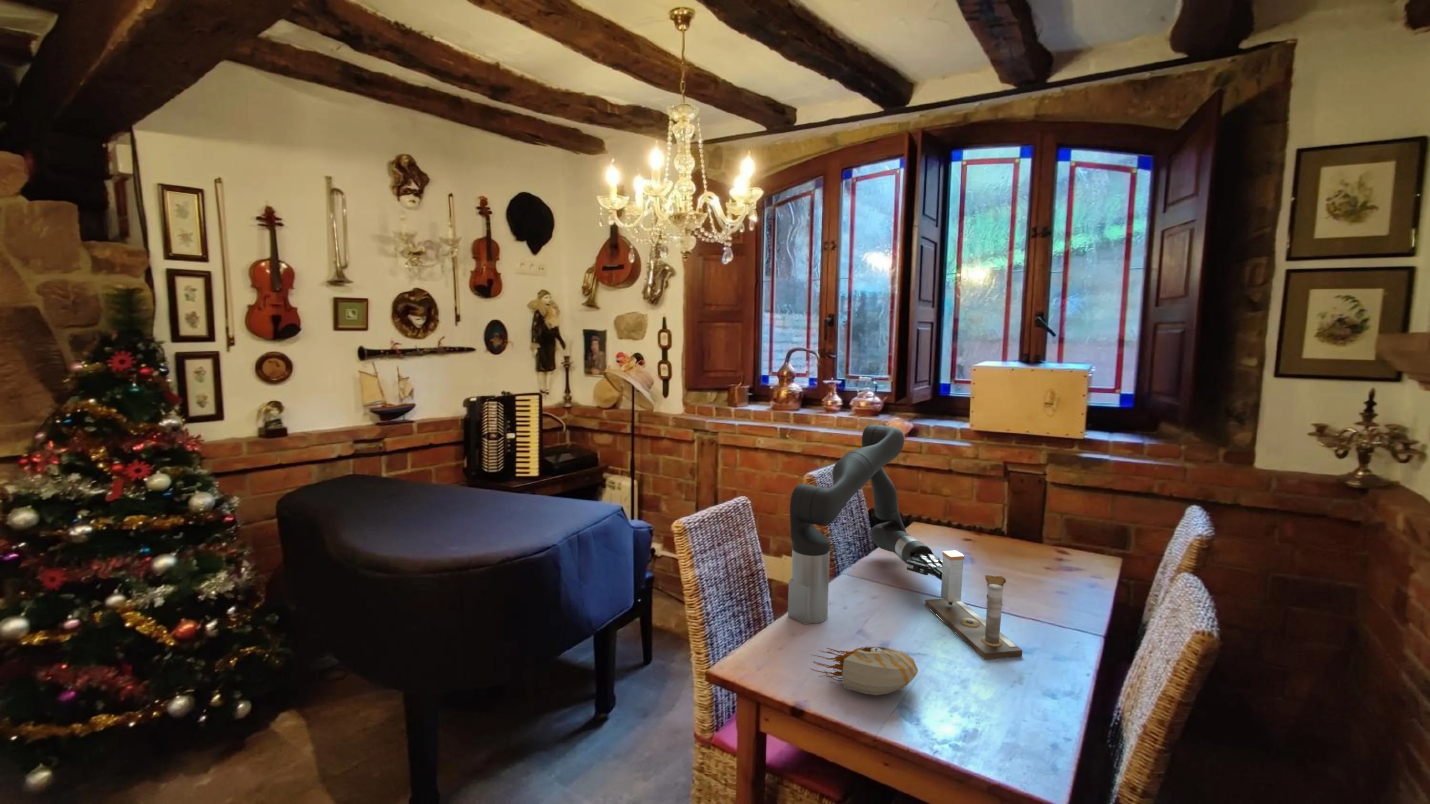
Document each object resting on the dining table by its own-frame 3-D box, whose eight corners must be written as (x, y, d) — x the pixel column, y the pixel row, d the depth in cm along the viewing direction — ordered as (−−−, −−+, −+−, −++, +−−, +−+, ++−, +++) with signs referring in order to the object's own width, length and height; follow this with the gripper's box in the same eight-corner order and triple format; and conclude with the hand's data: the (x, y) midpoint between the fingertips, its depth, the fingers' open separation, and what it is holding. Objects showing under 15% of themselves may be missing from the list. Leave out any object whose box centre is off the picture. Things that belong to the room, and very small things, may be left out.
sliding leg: (961, 606, 161) (964, 555, 159) (947, 607, 160) (950, 556, 159) (953, 600, 165) (956, 550, 163) (939, 601, 164) (942, 551, 162)
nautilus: (800, 690, 129) (822, 659, 142) (909, 714, 119) (922, 678, 133) (799, 652, 128) (821, 624, 142) (909, 673, 119) (922, 641, 132)
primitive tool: (985, 576, 186) (985, 565, 186) (1005, 579, 184) (1006, 568, 184) (986, 603, 169) (987, 591, 168) (1008, 607, 167) (1009, 594, 166)
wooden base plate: (1021, 656, 142) (1026, 594, 140) (984, 659, 140) (988, 596, 138) (956, 602, 168) (960, 549, 166) (924, 605, 166) (927, 551, 165)
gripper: (892, 541, 180) (921, 564, 163) (935, 538, 182) (969, 561, 165) (891, 566, 181) (920, 592, 164) (934, 564, 183) (967, 589, 166)
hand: (945, 576), depth 165 cm, fingers closed
